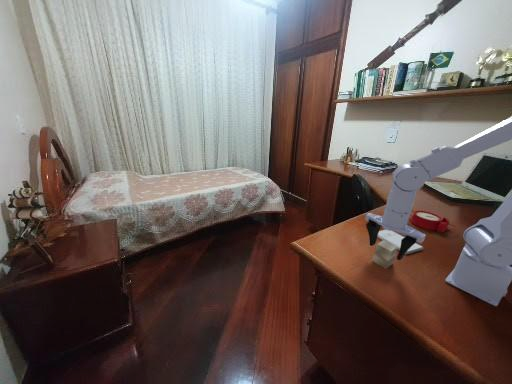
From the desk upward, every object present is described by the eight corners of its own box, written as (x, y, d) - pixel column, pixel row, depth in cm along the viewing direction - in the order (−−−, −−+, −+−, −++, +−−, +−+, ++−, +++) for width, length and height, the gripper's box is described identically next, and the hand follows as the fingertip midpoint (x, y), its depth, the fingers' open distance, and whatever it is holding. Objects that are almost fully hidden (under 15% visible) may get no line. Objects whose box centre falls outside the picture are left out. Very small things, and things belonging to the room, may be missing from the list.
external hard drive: (405, 256, 66) (372, 235, 77) (422, 250, 69) (388, 232, 80) (406, 251, 65) (373, 232, 76) (423, 246, 68) (389, 228, 79)
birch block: (392, 263, 61) (398, 246, 59) (386, 268, 59) (391, 251, 57) (379, 256, 64) (383, 240, 62) (372, 261, 62) (376, 244, 60)
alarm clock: (412, 208, 92) (459, 212, 81) (412, 221, 93) (458, 227, 82) (405, 214, 85) (455, 220, 74) (405, 228, 87) (454, 236, 75)
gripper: (363, 202, 59) (354, 243, 64) (423, 224, 48) (407, 271, 53) (376, 198, 63) (366, 236, 68) (434, 217, 52) (418, 261, 56)
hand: (385, 251), depth 60 cm, fingers open, 7 cm apart
